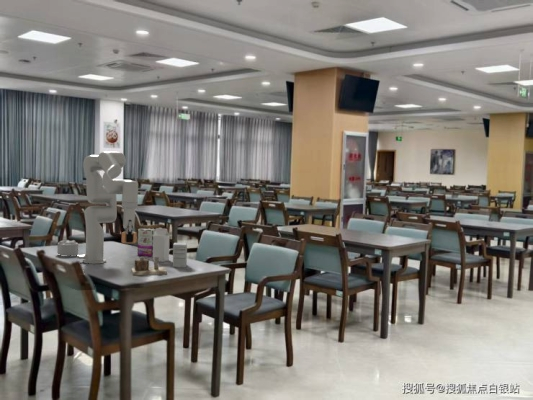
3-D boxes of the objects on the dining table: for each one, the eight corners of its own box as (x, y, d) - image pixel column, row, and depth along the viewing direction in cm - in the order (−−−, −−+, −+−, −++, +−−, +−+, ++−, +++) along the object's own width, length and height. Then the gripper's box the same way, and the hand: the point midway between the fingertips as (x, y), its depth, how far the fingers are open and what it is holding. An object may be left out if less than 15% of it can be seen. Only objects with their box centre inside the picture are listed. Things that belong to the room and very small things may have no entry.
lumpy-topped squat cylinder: (63, 257, 311) (63, 242, 310) (53, 254, 320) (53, 239, 319) (80, 255, 318) (80, 241, 318) (70, 252, 327) (70, 238, 327)
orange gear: (121, 243, 261) (122, 233, 260) (121, 241, 267) (121, 231, 267) (136, 243, 263) (136, 233, 262) (135, 241, 270) (135, 231, 269)
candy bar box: (157, 256, 326) (157, 229, 325) (152, 257, 322) (153, 230, 321) (141, 254, 330) (142, 228, 329) (137, 255, 326) (137, 228, 325)
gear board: (133, 274, 268) (133, 259, 268) (131, 270, 279) (131, 255, 278) (166, 273, 274) (167, 258, 273) (163, 269, 284) (164, 254, 284)
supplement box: (173, 264, 300) (174, 242, 299) (186, 265, 301) (187, 242, 300) (172, 267, 293) (172, 244, 292) (185, 267, 293) (186, 244, 292)
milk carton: (164, 262, 307) (165, 229, 306) (152, 261, 308) (153, 228, 307) (168, 260, 314) (169, 228, 313) (157, 259, 315) (158, 227, 314)
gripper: (121, 204, 271) (120, 238, 272) (122, 206, 255) (122, 243, 256) (136, 204, 273) (135, 238, 274) (138, 207, 257) (138, 243, 258)
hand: (128, 240), depth 265 cm, fingers closed on orange gear, 7 cm apart
